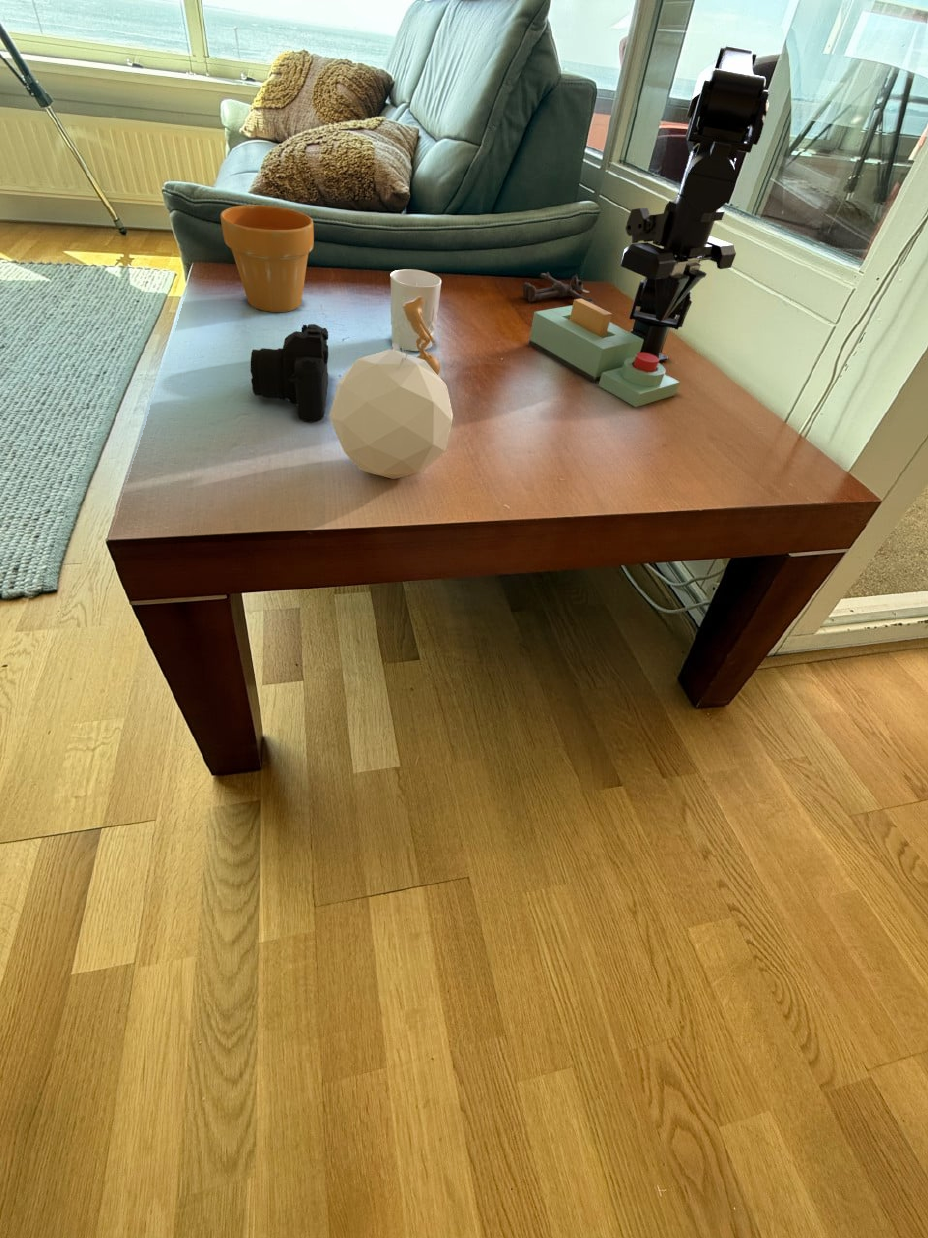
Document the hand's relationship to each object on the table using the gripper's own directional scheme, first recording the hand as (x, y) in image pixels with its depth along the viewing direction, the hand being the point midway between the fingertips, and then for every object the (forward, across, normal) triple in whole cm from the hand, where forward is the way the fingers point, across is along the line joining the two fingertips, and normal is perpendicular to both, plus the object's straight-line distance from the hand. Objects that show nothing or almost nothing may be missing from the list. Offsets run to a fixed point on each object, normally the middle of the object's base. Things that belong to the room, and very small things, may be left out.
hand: (659, 319), depth 94 cm
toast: (+10, 0, -13) cm, 16 cm away
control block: (+11, 0, 0) cm, 11 cm away
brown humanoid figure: (+11, -17, -37) cm, 42 cm away
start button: (+7, 0, 0) cm, 7 cm away
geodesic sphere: (+11, +48, +1) cm, 49 cm away
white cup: (+11, +24, -29) cm, 39 cm away
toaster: (+11, 0, -13) cm, 17 cm away
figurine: (+11, +31, -17) cm, 37 cm away
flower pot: (+11, +37, -52) cm, 65 cm away
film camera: (+11, +50, -20) cm, 55 cm away
